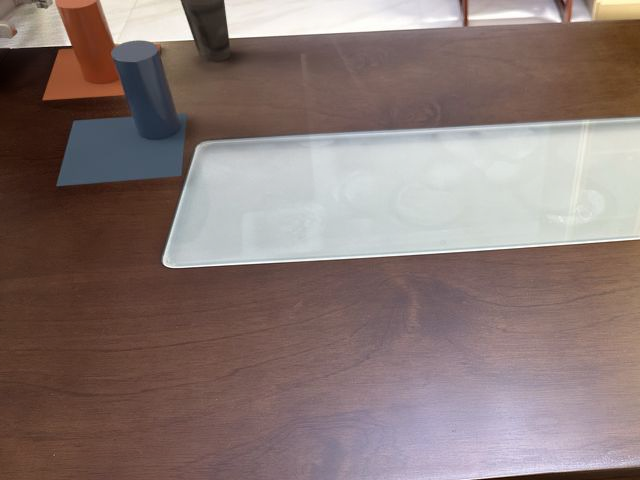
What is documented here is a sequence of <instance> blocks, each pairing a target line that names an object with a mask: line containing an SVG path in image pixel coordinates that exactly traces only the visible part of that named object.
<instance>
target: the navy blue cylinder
mask: <svg viewBox="0 0 640 480" xmlns="http://www.w3.org/2000/svg"><path fill="white" fill-rule="evenodd" d="M155 44H156V43H154V42H151V41H149V40H141V39H138V40H130V41H125V42H122V43H120V44H118V45H115V46H116V47H115V48H114V49H113V50H112V52H111V56H112V59H113V62H114V64H115V67H116V70H117V73H118V76H119V79H120V82H121V85H122V88H123V91H124V94H125V95H124V96H125V100H126V102H127V105H128V108H129V112H130V114H131V117H133V120H134V123H135V126H136V128H137V131H138V134H139V135H140V136H142V137H143V138H146V139H152V140H158V139H164V138H168V137H170V136H172V135H174V134H176V133H177V132H178V131H179V129H180V122H179V119H178V115H177V114H178V112H177V109H176V105H175V102H174V98H173V95H172V92H171V87H170V84H169V81H168V78H167V74H166V70H165V67H164V63H163V61H162V57H161V52H160V53H159V50H158V47H157V46H156V45H155Z"/></svg>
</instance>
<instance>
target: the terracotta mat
mask: <svg viewBox="0 0 640 480" xmlns="http://www.w3.org/2000/svg"><path fill="white" fill-rule="evenodd" d="M154 44H155V45H156V46H157V47H158V50H159V53H160V54H161V51H162V46H161V43H154ZM116 46H117V45H115V47H116ZM117 96H118V97H119V96H125V94H124V91H123V88H122V85H121V82H120V79H118V80H116V81H113V82H110V83H105V84H94V83H90V82H88V81H86V80H85V79H84V77H83V74H82V72H81V69H80V66H79V64H78V61H77V58H76V56H75V53H74V51H73V48H59V49H58V51H57V55H56V58H55V60H54V63H53V67H52V70H51V72H50V76H49V79H48V81H47V85H46V88H45V91H44V94H43V97H42V101H55V100H56V101H57V100H69V99H70V100H71V99H85V98H86V99H87V98H101V97H103V98H104V97H117Z"/></svg>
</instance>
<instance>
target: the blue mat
mask: <svg viewBox="0 0 640 480" xmlns="http://www.w3.org/2000/svg"><path fill="white" fill-rule="evenodd" d="M177 115H178V119H179V122H180V129H179V131H178V132H177V133H176V134H174V135H172V136H170V137H168V138H164V139H158V140H152V139H146V138H143V137H142V136H140V135H139V134H138V131H137V128H136V126H135V123H134V120H133V117H132V116H123V117H107V118H95V119H94V118H92V119H80V120H79V119H77V120H73V122H72V125H71V129H70V132H69V136H68V141H67V144H66V148H65V151H64V155H63V158H62V162H61V166H60V170H59V174H58V178H57V181H56V184H55V187H66V186H78V185H79V186H80V185H89V184H90V185H91V184H105V183H116V182H126V181H127V182H129V181H139V180H151V179H164V178H165V179H166V178H175V177H182V176H183V175H182V174H183V164H184V153H185V152H184V151H185V143H186V141H185V140H186V130H187V118H188V112H183V113H182V112H181V113H177Z"/></svg>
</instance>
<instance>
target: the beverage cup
mask: <svg viewBox="0 0 640 480" xmlns="http://www.w3.org/2000/svg"><path fill="white" fill-rule="evenodd" d="M179 1H180V3H181V6H182V9H183V12H184V16H185V18H186V21H187V24H188V28H189V30H190V33H191V36H192V39H193V41H194V44H195V47H196V51H197V53H198V54H199V57H200V58H201V60H203V61H205V62H208V63H216V62H217V63H218V62H223V61H225V60H227V59H228V58H230V56H231V44H230V36H229V27H228V19H227V12H226V11H227V10H226V4H225V0H179Z"/></svg>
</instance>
